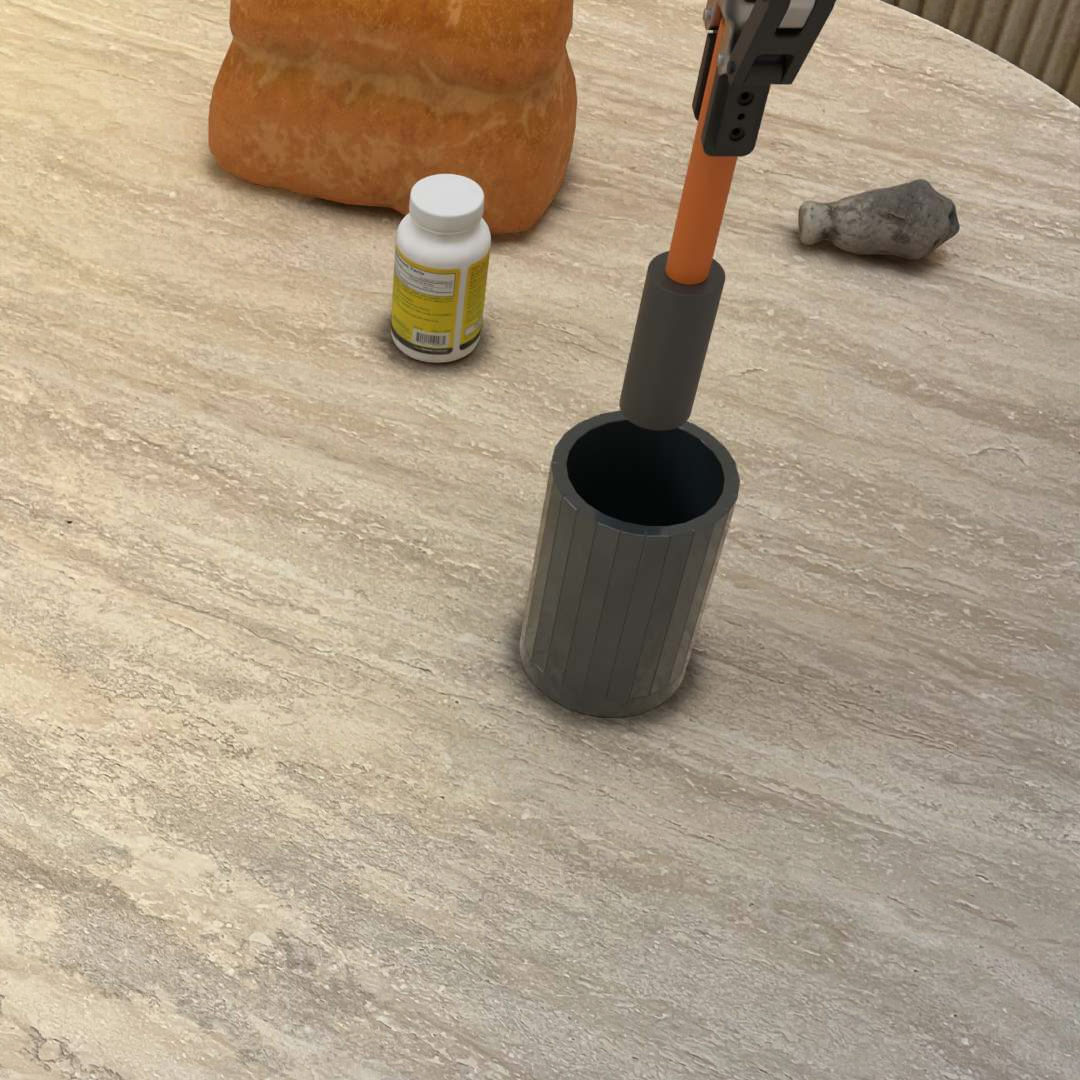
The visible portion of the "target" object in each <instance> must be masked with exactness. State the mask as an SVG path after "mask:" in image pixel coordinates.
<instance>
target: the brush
mask: <svg viewBox="0 0 1080 1080" xmlns="http://www.w3.org/2000/svg"><path fill="white" fill-rule="evenodd" d="M724 24H725V19H724V17H722V18H721V21H720V25H719V30H718V34H717V39H716V43H715V48H714V52H713V57H712V61H711V66H710V70H709V75H708V79H707V84H706V88H705V93H704V97H703V102H702V106H701V111H700V115H699V120H698V121H697V124H696V129H695V133H694V139H693V143H692V148H691V151H690V157H689V160H688V165H687V170H686V175H685V177H684V182H683V188H682V192H681V197H680V202H679V205H678V210H677V215H676V218H675V223H674V229H673V232H672V237H671V240H670V241H671V242H670V247H669V250H667V251H663V252H661V253H659V254H657V255H656V256H654V257H653V258H652V259H651V260H650V262H649V263H648V266H647V270H646V274H645V278H644V279H645V280H644V284H643V290H642V293H641V297H640V302H639V307H638V312H637V317H636V321H635V326H634V331H633V335H632V340H631V345H630V349H629V350H630V351H629V354H628V359H627V364H626V368H625V374H624V378H623V383H622V387H621V391H620V395H619V402H618V403H619V404H618V405H619V409H620V410H621V412H622V414H623V415H624V416H625V417H626V419H628V420H629V421H630V422H632V423H633V424H635V425H637V426H639V427H641V428H645V429H649V430H655V431H665V430H671V429H675V428H678V427H680V426H681V425H683V424H684V423H685V422H686V421H689V419H690V418H691V415H692V411H693V407H694V403H695V400H696V395H697V393H698V387H699V384H700V379H701V377H702V376H701V375H702V372H703V368H704V364H705V361H706V357H707V353H708V349H709V346H710V341H711V337H712V333H713V329H714V325H715V321H716V318H717V315H718V310H719V306H720V302H721V299H722V294H723V290H724V286H725V282H726V272H725V270H724V268H723V266H722V265H721V263H719V262H718V260H716V259H715V258H714V254H715V250H716V246H717V243H718V239H719V234H720V231H721V226H722V223H723V222H722V221H723V218H724V215H725V210H726V207H727V201H728V198H729V195H730V190H731V186H732V183H733V182H732V181H733V179H734V178H733V177H734V174H735V170H736V166H737V161H738V159H739V158H738V157H731V156H709V155H707V154H706V153H705V152H704V150H703V146H702V142H701V135H702V130H703V126H704V121H705V117H706V113H707V108H708V104H709V99H710V95H711V90H712V86H713V82H714V77H715V73H716V68H717V66H716V57H717V54H718V53H719V49H720V44H721V39H722V34H723V29H724ZM743 28H744V27H743Z"/></svg>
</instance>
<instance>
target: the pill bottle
mask: <svg viewBox="0 0 1080 1080" xmlns="http://www.w3.org/2000/svg"><path fill="white" fill-rule="evenodd" d="M483 208H484V193H483V190H482V189H481V187H480V186H479V185H478V184H477V183H476V182H474V181H473V180H471V179H469V178H467V177H464V176H460V175H455V174H437V175H432V176H428V177H426V178H423V179H421V180H420V181H418V182H417V183H416V184H415V185H414V186H413V188H412V190H411V194H410V203H409V213H408V214H407V215H404V217H403V218H402V220H401V221H400V222H399V225H398V227H397V230H396V234H395V242H394V243H395V247H394V262H393V278H392V295H391V310H390V311H391V313H390V334H391V335H390V336H391V338H392V340H393V343H394V345H396V347H397V348H398V349H399V350H400V351H401V352H402V353H403V354H405V355H406V356H408V357H409V358H411V359H414V360H417V361H419V362H420V361H421V362H426V363H432V364H433V363H434V364H436V363H449V362H454V361H457V360H460V359H463V358H464V357H467V356H468V355H469V354H471V353H472V352H473V351H474V350H475V349H476V347H477V346H478V343H479V341H480V339H481V334H482V328H483V318H484V309H485V302H486V301H485V300H486V299H485V298H486V291H487V283H488V282H487V281H488V274H489V264H490V257H491V245H492V236H491V235H492V234H491V233H490V231H489V228H488V225H487V224H486V222H485V221H484V219H483V218H482V215H483Z"/></svg>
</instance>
